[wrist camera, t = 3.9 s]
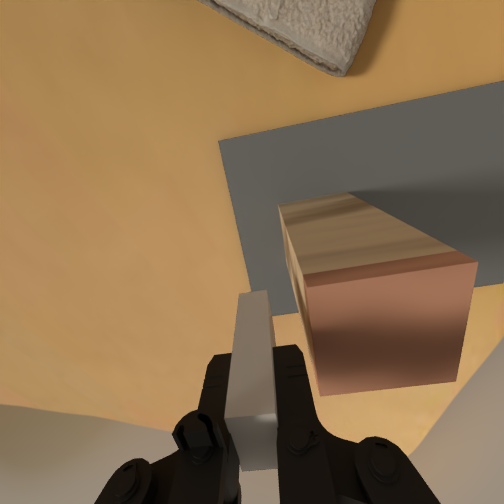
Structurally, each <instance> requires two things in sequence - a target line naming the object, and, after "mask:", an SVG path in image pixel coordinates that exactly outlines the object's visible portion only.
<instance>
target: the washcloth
mask: <svg viewBox="0 0 504 504" xmlns="http://www.w3.org/2000/svg"><path fill="white" fill-rule="evenodd" d="M198 1H199V2H201V3H204V4H205V5H207V6H209V7H210V8H212V9H214V10H215V11H217V12H218V13H220V14H222V15H224V16H226V17H227V18H229V19H230V20H232V21H234V22H236V23H238V24H239V25H241V26H243V27H244V28H246V29H248V30H250V31H252V32H254V33H255V34H257V35H260V36H261V37H262V38H265V39H266V40H268V41H270V42H271V43H274V44H276V45H277V46H279V47H281V48H283V49H284V50H286V51H288V52H290V53H291V54H293V55H294V56H296V57H297V58H299V59H301V60H302V61H305V62H306V63H308V64H310V65H311V66H313V67H315V68H317V69H319V70H320V71H323V72H325V73H327V74H330V75H332V76H336V77H343V76H345V75H346V73H347V70H348V69H349V68H350V67H351V66H352V63H353V60H354V57H355V56H356V54H357V51H358V47H359V46H360V45H361V43H362V41H363V37H364V36H365V33H366V30H367V27H368V23H369V20H370V18H371V16H372V10H373V7H374V5H375V2H376V0H198Z"/></svg>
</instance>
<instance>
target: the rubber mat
mask: <svg viewBox="0 0 504 504" xmlns="http://www.w3.org/2000/svg"><path fill="white" fill-rule="evenodd" d="M218 143H219V147H220V152H221V156H222V161H223V165H224V170H225V174H226V179H227V183H228V188H229V192H230V196H231V201H232V205H233V210H234V214H235V219H236V223H237V228H238V232H239V237H240V241H241V246H242V250H243V255H244V259H245V264H246V268H247V273H248V277H249V282H250V286H251V291H252V292H255V291H262V290H267V293H268V298H269V304H270V309H271V315H272V316H277V315H284V314H291V313H298V312H299V311H298V307H297V303H296V299H295V295H294V291H293V287H292V283H291V279H290V275H289V271H288V267H287V262H286V255H285V249H284V242H283V235H282V229H281V222H280V215H279V209H278V204H283V203H288V202H294V201H299V200H305V199H310V198H315V197H321V196H326V195H332V194H337V193H343V192H348V193H349V194H351V195H353V196H355V197H357V198H359V199H361V200H363V201H365V202H367V203H368V204H370V205H372V206H374V207H376V208H378V209H380V210H382V211H384V212H385V213H387V214H389V215H391V216H393V217H395V218H397V219H399V220H401V221H402V222H404V223H406V224H408V225H410V226H412V227H414V228H416V229H418V230H419V231H421V232H423V233H425V234H427V235H429V236H431V237H433V238H435V239H437V240H438V241H440V242H442V243H444V244H446V245H448V246H450V247H452V248H454V249H455V250H457V251H459V252H461V253H463V254H465V255H467V256H469V257H471V258H472V259H474V260H476V261H478V267H477V272H476V278H475V283H474V287H481V286H488V285H495V284H502V283H503V282H504V81H500V82H495V83H491V84H486V85H481V86H477V87H472V88H467V89H462V90H458V91H453V92H448V93H443V94H439V95H434V96H429V97H424V98H420V99H415V100H410V101H406V102H401V103H396V104H391V105H387V106H382V107H377V108H372V109H368V110H363V111H358V112H354V113H349V114H344V115H339V116H335V117H330V118H325V119H320V120H316V121H311V122H306V123H302V124H297V125H292V126H287V127H283V128H278V129H273V130H268V131H264V132H259V133H254V134H249V135H245V136H240V137H235V138H231V139H226V140H221V141H218Z"/></svg>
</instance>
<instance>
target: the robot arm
mask: <svg viewBox="0 0 504 504" xmlns="http://www.w3.org/2000/svg"><path fill="white" fill-rule="evenodd" d="M172 436H173V438H174V440H175V442H176V444H177V446H178V448H179V449H178V450H177V451H176V452H174V453H173V454H171V455H169V456H167V457H165V458H163V459H160V460H158V461H156V462H154V463H152V464H149V462H148V461H146V460H144V459H143V458H137V459H132V460H130V461H128V462H126V463H124V464H123V465H122V466H121V467H120V468H118V469H117V470H116V471H115V473H114V474H113V475H112V477H111V478H110V479H109V481H108V482H107V484H106V485H105V487H104V489H103V490H102V492H101V494H100V495H99V497H98V498H97V500H96V502H95V503H94V504H241V488H240V487H241V486H240V484H239V465H240V466H241V469H242V471H254V470H266V469H278V478H279V493H280V504H441V503H440V502H439V501H438V499H437V498H436V497H435V495H434V494H433V492H432V491H431V489H430V488H429V487H428V485H427V484H426V482H425V481H424V480H423V478H422V477H421V475H420V474H419V473H418V471H417V470H416V468H415V467H414V466H413V464H412V463H411V461H410V460H409V459H408V457H407V456H406V455H405V454H404V452H403V451H402V450H401V449H400V448H399V447H398V446H397V445H395V444H394V443H392V442H390V441H389V440H387V439H384V438H381V437H377V436H374V437H367V438H365V439H364V440H362V441H361V442H359V443H355V442H352V441H348V440H344V439H341V438H339V437H336V436H334V435H332V434H331V433H329V432H328V431H327V430H326V429H325V428H324V427H323V426H322V425H321V423H320V421H319V420H318V417H317V414H316V410H315V406H314V401H313V397H312V392H311V388H310V383H309V379H308V374H307V370H306V365H305V360H304V356H303V353H302V351H301V350H300V349H299V348H298V346H297V345H296V344H294V345H286V346H278V347H276V343H275V332H274V326H273V320H272V315H271V309H270V304H269V298H268V293H267V290H262V291H255V292H248V293H241V294H239V299H238V307H237V316H236V324H235V332H234V341H233V349H232V353H227V354H219V355H214V356H213V358H212V360H211V361H210V363H209V364H208V366H207V370H206V375H205V379H204V384H203V389H202V392H201V397H200V401H199V406H198V410H195V411H191V412H190V413H188V414H187V415H185V416H184V417H183V418H182V419H181V420H180V421H179V422H178V423H177V425H176V426H175V429H174V431H173V433H172Z"/></svg>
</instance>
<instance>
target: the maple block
mask: <svg viewBox="0 0 504 504" xmlns="http://www.w3.org/2000/svg"><path fill="white" fill-rule="evenodd" d="M278 209H279V215H280V222H281V229H282V235H283V242H284V249H285V255H286V262H287V267H288V271H289V275H290V279H291V283H292V287H293V291H294V295H295V299H296V303H297V307H298V311H299V315H300V319H301V323H302V327H303V331H304V335H305V339H306V343H307V347H308V351H309V355H310V358H311V362H312V366H313V370H314V374H315V378H316V382H317V386H318V390H319V394H320V396H329V395H338V394H347V393H356V392H365V391H374V390H383V389H392V388H401V387H410V386H419V385H428V384H437V383H446V382H455V381H456V378H457V373H458V368H459V362H460V357H461V352H462V347H463V341H464V336H465V331H466V325H467V320H468V315H469V310H470V304H471V299H472V294H473V288H474V283H475V278H476V272H477V267H478V261H476V260H474V259H472V258H471V257H469V256H467V255H465V254H463V253H461V252H459V251H457V250H455V249H454V248H452V247H450V246H448V245H446V244H444V243H442V242H440V241H438V240H437V239H435V238H433V237H431V236H429V235H427V234H425V233H423V232H421V231H419V230H418V229H416V228H414V227H412V226H410V225H408V224H406V223H404V222H402V221H401V220H399V219H397V218H395V217H393V216H391V215H389V214H387V213H385V212H384V211H382V210H380V209H378V208H376V207H374V206H372V205H370V204H368V203H367V202H365V201H363V200H361V199H359V198H357V197H355V196H353V195H351V194H349V193H348V192H343V193H337V194H332V195H326V196H321V197H315V198H310V199H305V200H299V201H294V202H288V203H283V204H278Z"/></svg>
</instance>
